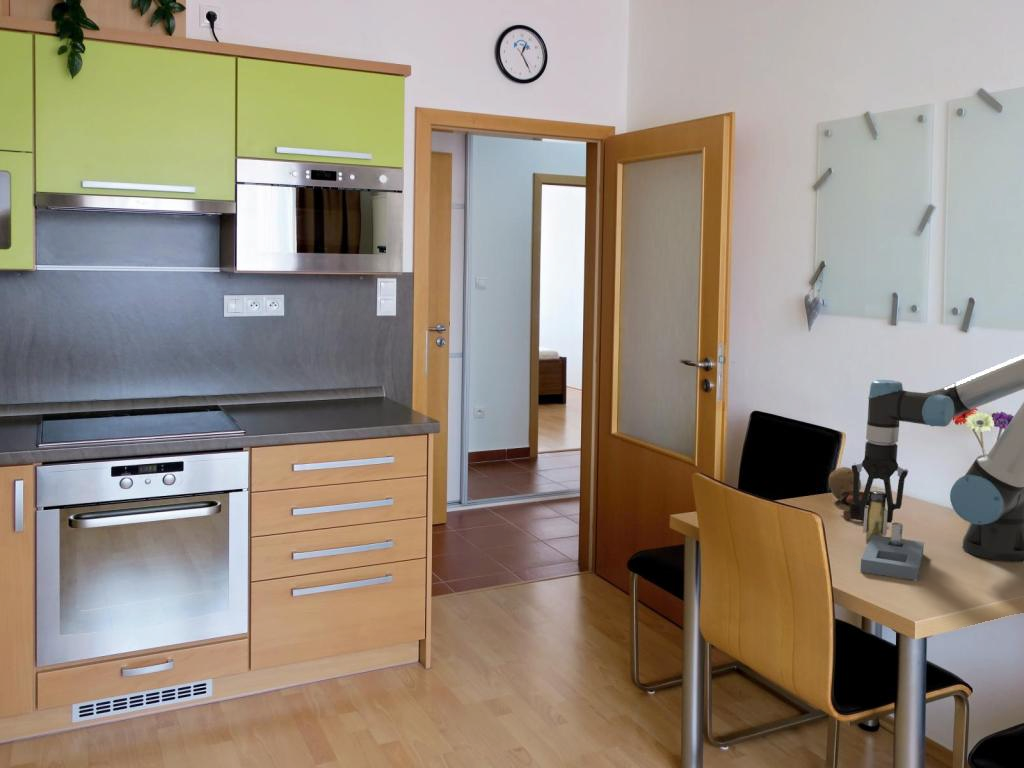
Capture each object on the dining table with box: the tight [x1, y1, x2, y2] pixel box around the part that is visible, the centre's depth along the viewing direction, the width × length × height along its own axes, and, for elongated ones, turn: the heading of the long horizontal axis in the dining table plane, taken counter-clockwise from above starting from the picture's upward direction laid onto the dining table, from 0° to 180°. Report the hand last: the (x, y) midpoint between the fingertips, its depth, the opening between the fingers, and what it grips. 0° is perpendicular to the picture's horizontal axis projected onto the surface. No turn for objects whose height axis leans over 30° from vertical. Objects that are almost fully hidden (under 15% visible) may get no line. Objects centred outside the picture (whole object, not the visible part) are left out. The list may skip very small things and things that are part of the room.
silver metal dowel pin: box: [890, 522, 904, 547], centre depth 238 cm, size 2×2×8 cm
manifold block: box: [859, 535, 925, 581], centre depth 233 cm, size 12×22×3 cm, turn 155°
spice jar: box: [865, 490, 887, 541], centre depth 250 cm, size 4×4×12 cm
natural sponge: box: [828, 466, 862, 501], centre depth 289 cm, size 9×9×10 cm
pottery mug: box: [837, 490, 869, 522], centre depth 272 cm, size 12×10×8 cm
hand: (874, 532), depth 251 cm, fingers closed on spice jar, 4 cm apart
